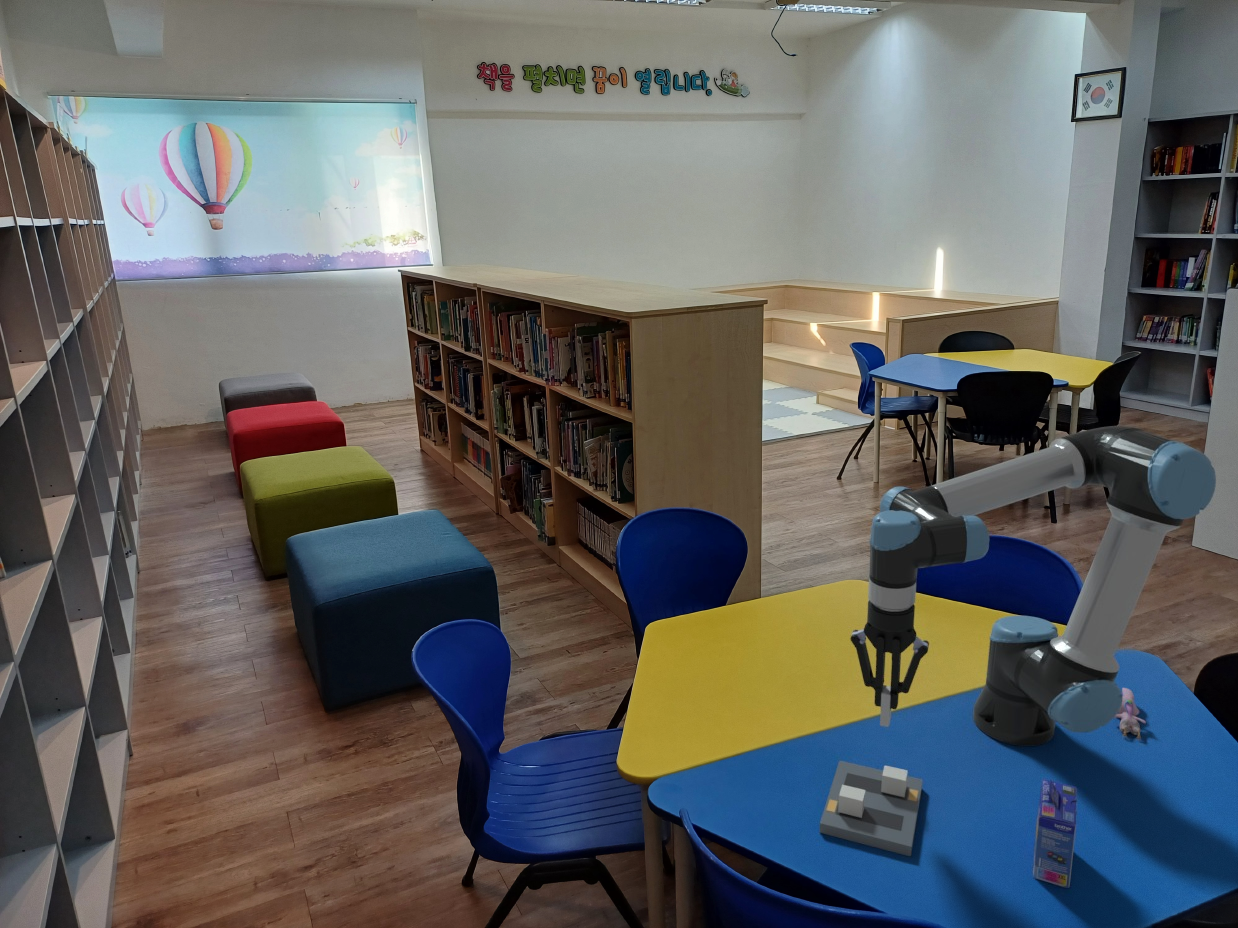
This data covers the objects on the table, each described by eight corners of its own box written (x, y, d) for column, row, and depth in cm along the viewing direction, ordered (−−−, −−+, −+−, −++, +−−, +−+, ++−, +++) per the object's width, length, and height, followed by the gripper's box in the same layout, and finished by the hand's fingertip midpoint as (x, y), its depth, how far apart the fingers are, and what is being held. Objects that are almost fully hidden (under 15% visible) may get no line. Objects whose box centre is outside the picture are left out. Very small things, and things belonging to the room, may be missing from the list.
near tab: (864, 806, 150) (865, 789, 149) (861, 817, 147) (862, 800, 146) (841, 800, 152) (842, 784, 150) (838, 811, 149) (839, 795, 148)
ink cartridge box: (1033, 837, 145) (1043, 765, 140) (1070, 847, 142) (1081, 774, 138) (1030, 878, 136) (1040, 802, 132) (1069, 889, 134) (1081, 813, 129)
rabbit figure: (1148, 747, 168) (1134, 695, 180) (1154, 724, 165) (1140, 673, 178) (1112, 742, 170) (1101, 691, 182) (1117, 719, 167) (1106, 669, 180)
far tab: (906, 786, 154) (907, 770, 153) (904, 797, 152) (905, 780, 151) (883, 781, 156) (884, 765, 155) (881, 791, 153) (882, 775, 152)
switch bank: (921, 788, 157) (922, 778, 156) (910, 856, 142) (911, 846, 141) (838, 769, 163) (839, 760, 162) (819, 832, 148) (820, 822, 147)
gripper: (934, 597, 144) (926, 717, 151) (855, 586, 149) (851, 702, 157) (930, 617, 138) (922, 742, 145) (847, 606, 143) (843, 726, 150)
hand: (885, 721), depth 151 cm, fingers closed
